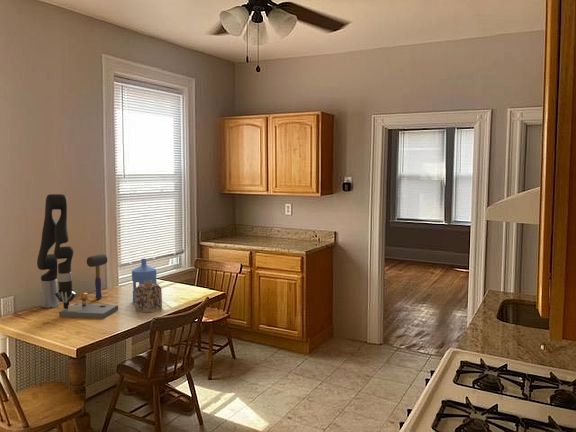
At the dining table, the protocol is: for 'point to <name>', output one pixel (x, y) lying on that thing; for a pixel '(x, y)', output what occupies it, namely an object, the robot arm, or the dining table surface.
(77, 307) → the white boxy piece
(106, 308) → the board
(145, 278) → the water jug
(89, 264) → the rubber mallet
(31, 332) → the dining table surface
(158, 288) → the decorative jar
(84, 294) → the orange rounded piece
